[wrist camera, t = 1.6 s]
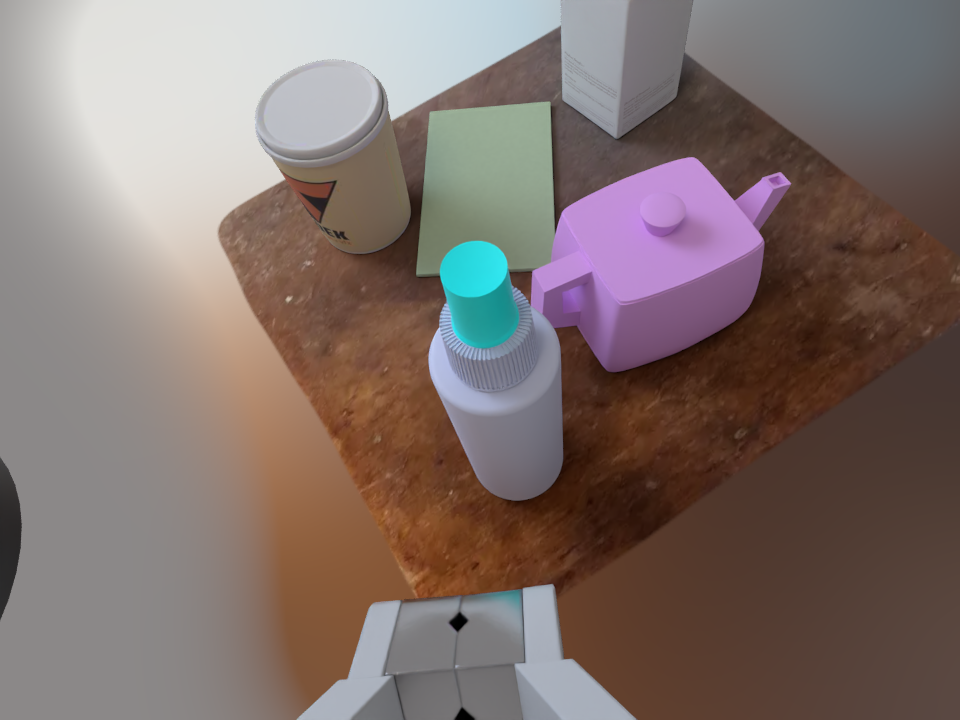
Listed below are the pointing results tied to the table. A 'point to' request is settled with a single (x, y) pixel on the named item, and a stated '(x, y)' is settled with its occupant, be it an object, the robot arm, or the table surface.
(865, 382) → the table surface
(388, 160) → the coffee cup
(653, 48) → the white packaging box
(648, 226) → the teapot
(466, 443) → the spray bottle
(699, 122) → the table surface
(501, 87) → the table surface
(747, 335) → the table surface
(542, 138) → the mat
